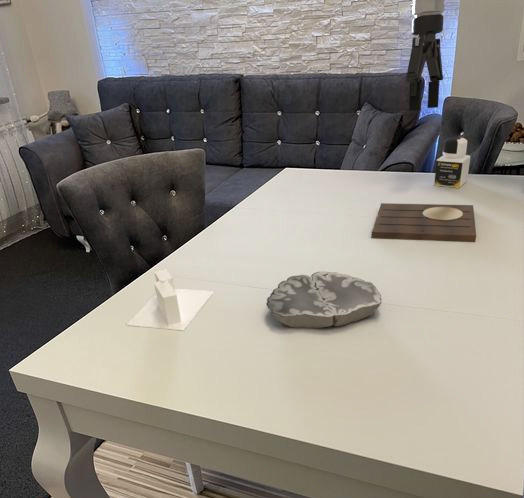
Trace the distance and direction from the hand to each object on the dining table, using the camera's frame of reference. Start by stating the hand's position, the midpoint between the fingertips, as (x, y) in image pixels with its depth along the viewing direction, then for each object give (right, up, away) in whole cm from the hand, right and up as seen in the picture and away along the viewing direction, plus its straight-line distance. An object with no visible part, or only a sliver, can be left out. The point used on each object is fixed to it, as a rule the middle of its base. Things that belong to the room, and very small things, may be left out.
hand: (424, 109), depth 142 cm
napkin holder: (-60, -56, -43) cm, 92 cm away
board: (-5, -34, -16) cm, 38 cm away
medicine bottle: (+10, -17, +8) cm, 22 cm away
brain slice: (-33, -57, -47) cm, 80 cm away
